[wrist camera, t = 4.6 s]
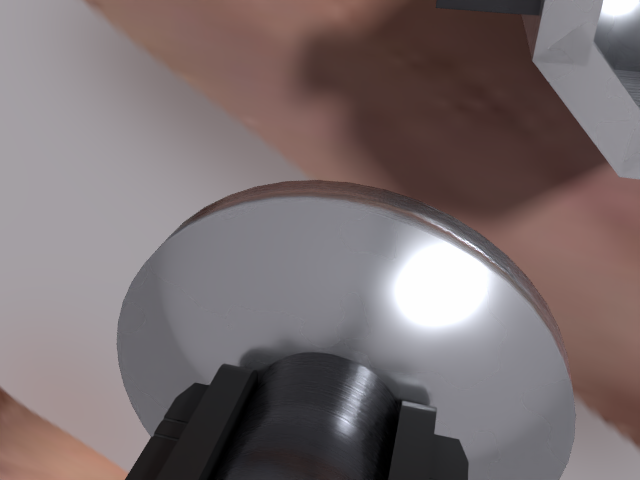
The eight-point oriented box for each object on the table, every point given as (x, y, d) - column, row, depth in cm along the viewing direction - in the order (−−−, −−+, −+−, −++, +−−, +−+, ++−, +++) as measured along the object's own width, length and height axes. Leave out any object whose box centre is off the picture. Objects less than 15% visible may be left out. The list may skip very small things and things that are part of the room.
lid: (147, 124, 14) (-149, 331, 7) (619, 186, 12) (761, 535, 6) (182, 431, 19) (25, 706, 13) (514, 509, 17) (525, 878, 11)
